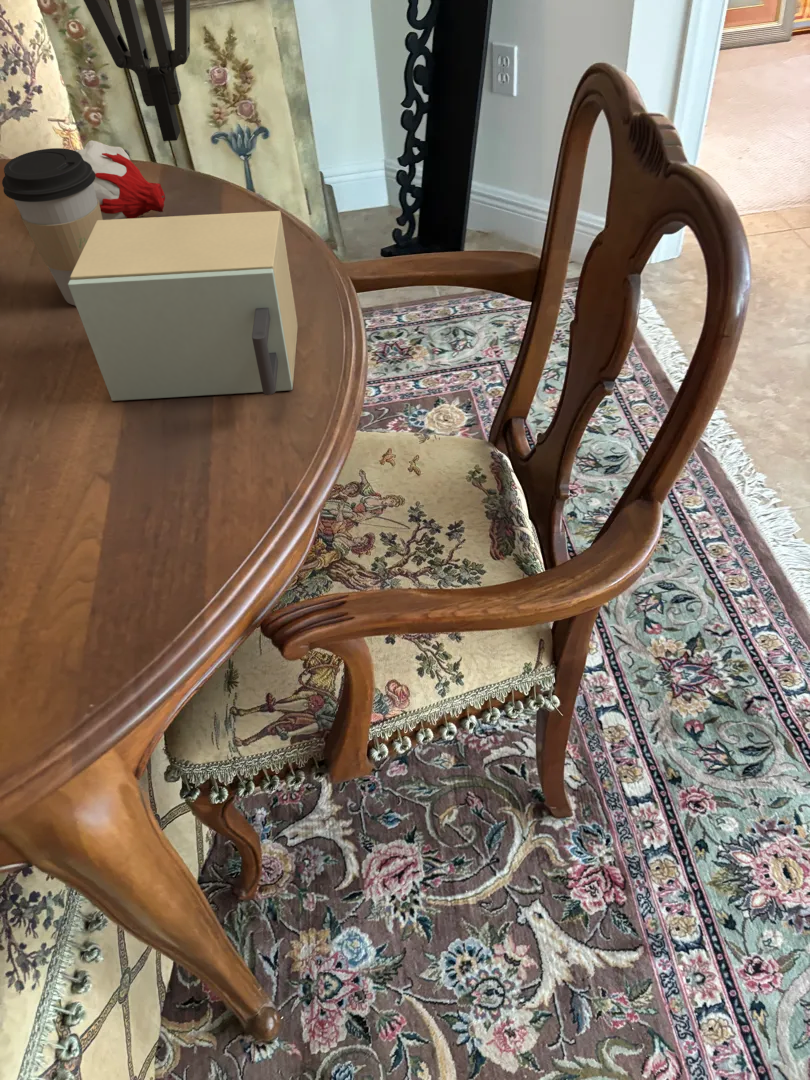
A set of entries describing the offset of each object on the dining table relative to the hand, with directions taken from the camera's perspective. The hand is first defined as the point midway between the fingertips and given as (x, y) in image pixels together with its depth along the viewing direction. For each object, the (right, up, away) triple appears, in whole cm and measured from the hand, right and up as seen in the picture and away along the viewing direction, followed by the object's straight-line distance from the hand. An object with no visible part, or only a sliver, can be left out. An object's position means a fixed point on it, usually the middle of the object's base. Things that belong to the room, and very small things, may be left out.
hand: (172, 135), depth 87 cm
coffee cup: (-11, -16, +6) cm, 20 cm away
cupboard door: (+6, -32, -10) cm, 34 cm away
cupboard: (+5, -26, -4) cm, 27 cm away
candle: (-12, -2, +19) cm, 23 cm away
